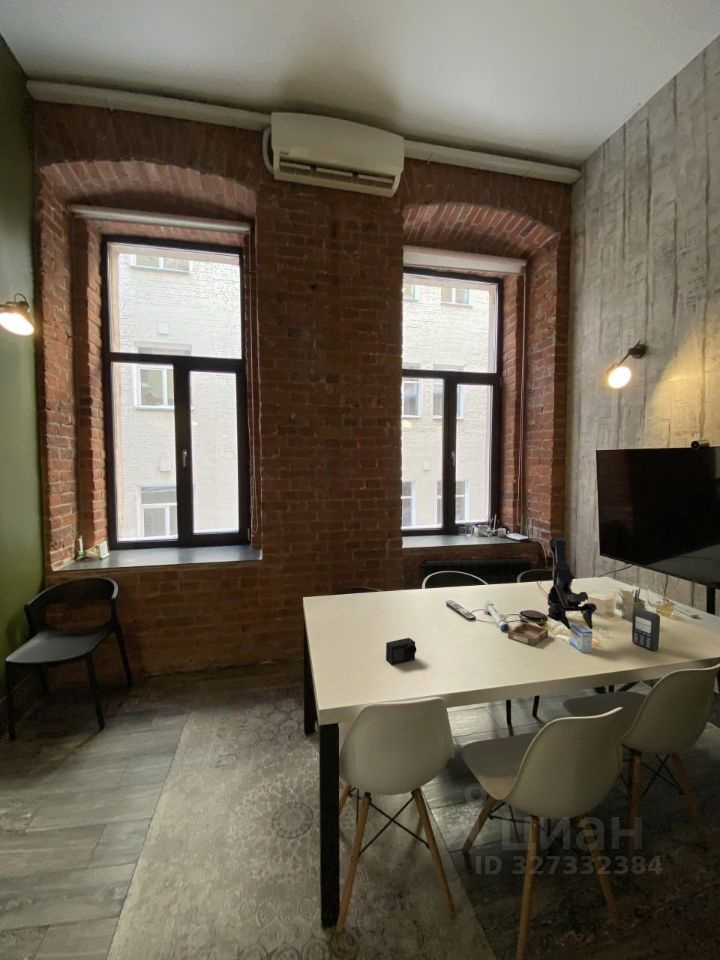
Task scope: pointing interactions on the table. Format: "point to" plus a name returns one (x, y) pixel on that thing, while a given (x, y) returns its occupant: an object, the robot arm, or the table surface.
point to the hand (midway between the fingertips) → (580, 629)
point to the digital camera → (400, 651)
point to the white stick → (495, 616)
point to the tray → (528, 634)
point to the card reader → (645, 629)
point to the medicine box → (581, 638)
